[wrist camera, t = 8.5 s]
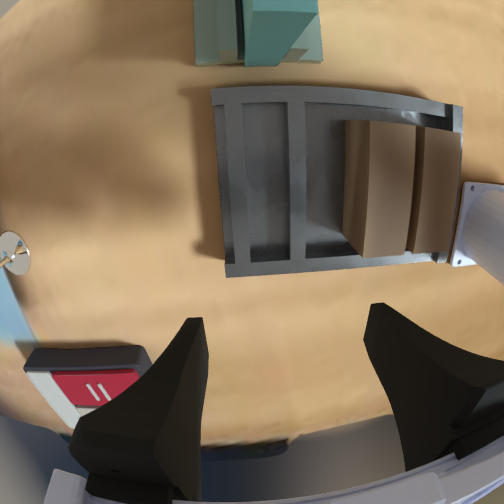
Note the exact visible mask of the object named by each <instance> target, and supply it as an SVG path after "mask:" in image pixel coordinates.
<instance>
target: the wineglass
mask: <svg viewBox="0 0 504 504" xmlns="http://www.w3.org/2000/svg"><path fill="white" fill-rule="evenodd" d="M0 257H1V260H2V261H0V268H1V267H2V266H3V265H5V266H6V268H7V269H8V270H9V271H10V272H12V273H13V274H15V275H24V274H26V273H27V272H28V271H29V269H30V264H31V258H30V253H29V250H28V248H27V246H26V244H25V242H24V241H23V239H22V238H21V237H20V236H19V235H18V234H16V233H14V232H11V231H6V232H5V233H3V234H2V235H1V237H0Z"/></svg>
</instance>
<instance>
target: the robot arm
mask: <svg viewBox="0 0 504 504" xmlns="http://www.w3.org/2000/svg"><path fill="white" fill-rule="evenodd" d="M471 186H472V189H471ZM458 260H459V261H458ZM473 264H478V265H479V266H481V267H482V268H483V269H484V270H486V271H487V272H488V273H489V274H491V275H492V276H493V277H494V278H496V279H497V280H498V281H499V282H500V283H502V284H503V285H504V185H498V184H489V183H478V182H465V183H464V184H463V189H462V198H461V205H460V212H459V218H458V224H457V230H456V235H455V241H454V246H453V250H452V255H451V260H450V265H451V266H453V267H459V266H466V265H473ZM363 340H364V343H365V347H366V350H367V353H368V356H369V359H370V361H371V363H372V365H373V367H374V369H375V371H376V373H377V375H378V377H379V379H380V382H381V384H382V386H383V388H384V390H385V392H386V394H387V396H388V399H389V401H390V404H391V407H392V410H393V413H394V417H395V420H396V424H397V427H398V431H399V435H400V440H401V445H402V449H403V455H404V462H405V469H406V472H405V473H402V474H398V475H396V476H392V477H389V478H386V479H383V480H379V481H376V482H372V483H368V484H365V485H361V486H357V487H353V488H349V489H344V490H339V491H335V492H329V493H324V494H319V495H312V496H306V497H298V498H290V499H282V500H271V501H256V502H202V494H201V467H200V440H201V419H202V411H203V404H204V398H205V391H206V385H207V378H208V359H209V353H208V347H207V341H206V336H205V330H204V324H203V318H202V317H196V318H187V319H186V320H185V322H184V324H183V325H182V327H181V328H180V330H179V331H178V333H177V334H176V336H175V337H174V338H173V340H172V341H171V342H170V344H169V345H168V347H167V348H166V349H165V351H164V352H163V353H162V354H161V355H160V357H159V358H158V359H157V360H156V361H155V362H154V364H153V365H152V366H151V367H150V368H149V369H148V370H147V371H146V372H145V373H144V374H143V375H142V376H141V377H140V378H139V379H138V380H137V381H136V382H134V383H133V384H132V385H131V386H130V387H128V388H127V389H126V390H125V391H123V392H122V393H121V394H119V395H118V396H116V397H115V398H114V399H112V400H110V401H109V402H107V403H106V404H104V405H102V406H101V407H99V408H97V409H95V410H93V411H91V412H89V413H87V414H85V415H83V416H81V417H80V418H79V420H78V422H77V424H76V426H75V429H74V432H73V435H72V438H71V440H70V443H69V446H68V449H69V452H70V453H71V455H72V456H73V457H74V459H76V461H77V462H78V463H80V465H82V466H83V467H84V468H85V469H86V470H87V471H88V472H89V476H88V480H87V479H85V478H83V477H81V476H78V475H75V474H71V473H68V472H65V471H62V470H58V469H54V471H53V474H52V477H51V481H50V484H49V487H48V490H47V494H46V497H45V501H44V504H472V503H474V502H475V501H477V500H479V499H480V498H482V497H483V496H485V495H486V494H488V493H489V492H491V491H492V490H494V489H495V488H497V487H498V486H500V485H501V484H502V483H504V361H502V360H496V359H491V358H488V357H484V356H480V355H477V354H474V353H471V352H468V351H466V350H463V349H461V348H458V347H456V346H454V345H452V344H450V343H448V342H446V341H443V340H442V339H440V338H438V337H436V336H434V335H433V334H431V333H429V332H428V331H426V330H424V329H423V328H421V327H420V326H418V325H417V324H415V323H414V322H412V321H411V320H409V319H408V318H406V317H405V316H403V315H402V314H400V313H399V312H397V311H396V310H394V309H393V308H391V307H390V306H388V305H387V304H385V303H375V304H371V306H370V311H369V316H368V321H367V325H366V330H365V334H364V339H363Z"/></svg>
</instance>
